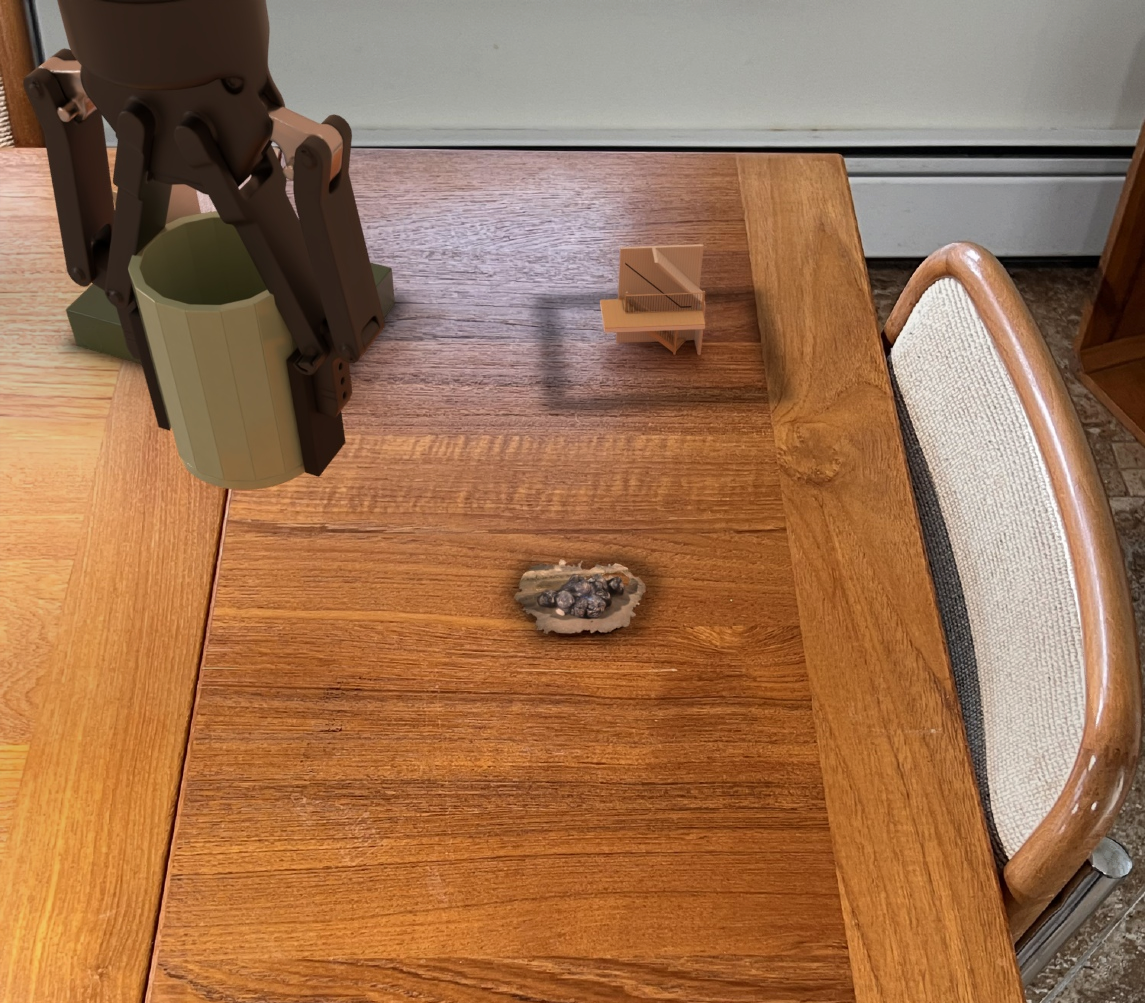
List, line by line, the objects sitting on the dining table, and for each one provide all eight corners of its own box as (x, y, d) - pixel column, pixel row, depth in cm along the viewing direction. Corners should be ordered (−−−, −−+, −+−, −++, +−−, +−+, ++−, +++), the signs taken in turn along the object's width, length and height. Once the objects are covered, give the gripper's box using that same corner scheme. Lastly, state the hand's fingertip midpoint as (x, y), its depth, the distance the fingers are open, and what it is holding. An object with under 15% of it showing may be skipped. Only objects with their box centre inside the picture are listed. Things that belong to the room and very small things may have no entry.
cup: (147, 465, 68) (95, 284, 60) (226, 375, 73) (187, 195, 65) (281, 507, 67) (247, 328, 59) (355, 413, 71) (332, 234, 63)
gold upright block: (162, 299, 96) (136, 193, 90) (137, 292, 97) (109, 186, 90) (209, 252, 100) (187, 147, 93) (185, 245, 100) (161, 140, 94)
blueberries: (496, 585, 85) (495, 562, 83) (612, 539, 87) (613, 517, 86) (551, 660, 81) (551, 637, 80) (670, 610, 84) (672, 588, 82)
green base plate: (69, 344, 98) (56, 305, 95) (170, 244, 105) (160, 205, 103) (308, 413, 94) (301, 374, 91) (395, 304, 101) (392, 265, 99)
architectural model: (703, 370, 97) (713, 274, 91) (602, 373, 97) (606, 278, 91) (696, 339, 99) (706, 244, 93) (598, 342, 99) (601, 247, 93)
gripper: (450, -51, 51) (472, 444, 69) (-21, -153, 55) (117, 338, 74) (352, 43, 47) (404, 543, 65) (-149, -75, 51) (31, 425, 70)
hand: (251, 434), depth 70 cm, fingers closed on cup, 7 cm apart
